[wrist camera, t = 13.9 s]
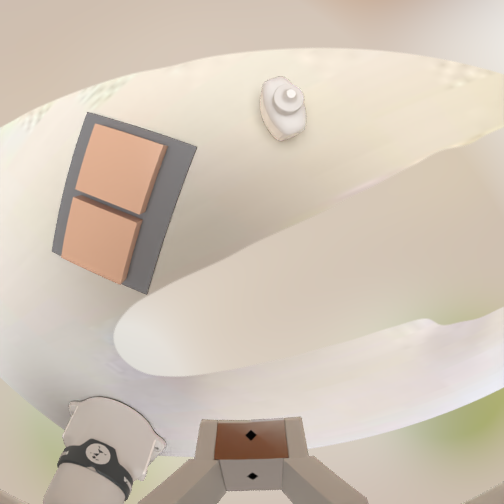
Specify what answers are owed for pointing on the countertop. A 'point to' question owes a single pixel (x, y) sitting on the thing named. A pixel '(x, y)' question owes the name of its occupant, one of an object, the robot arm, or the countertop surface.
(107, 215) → the tile
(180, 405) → the countertop surface
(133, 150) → the tile
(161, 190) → the mat
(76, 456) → the robot arm
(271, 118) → the eye dropper bottle
